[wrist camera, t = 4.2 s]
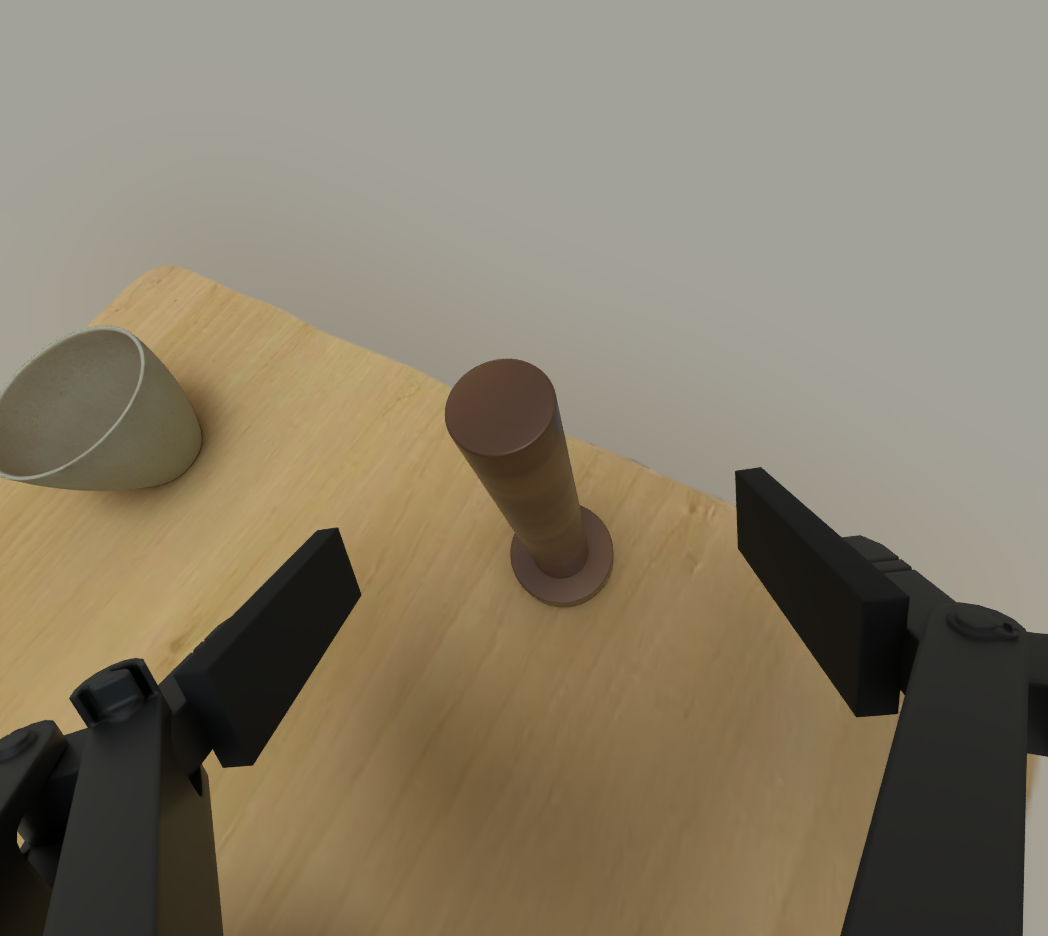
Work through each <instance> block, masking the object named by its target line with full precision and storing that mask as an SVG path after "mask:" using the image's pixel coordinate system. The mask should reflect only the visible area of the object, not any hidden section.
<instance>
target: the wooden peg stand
mask: <svg viewBox="0 0 1048 936" xmlns="http://www.w3.org/2000/svg"><path fill="white" fill-rule="evenodd" d="M445 422H446V426H447V429H448V432H449V434H450V436H451V437H452V439H453V440H454V442H455V443H456V445H457V446H458V448H459V449H460V451H461V452H462V454H463V455H464V457H465V458H466V460H467V461H468V463H469V464H470V466H471V467H472V469H473V470H474V472H475V473H476V475H477V476H478V478H479V479H480V481H481V482H482V484H483V485H484V487H485V488H486V490H487V491H488V493H489V494H490V496H491V497H492V499H493V500H494V502H495V503H496V505H497V506H498V508H499V509H500V511H501V512H502V514H503V515H504V517H505V518H506V520H507V521H508V523H509V524H510V526H511V527H512V529H513V530H514V532H515V535H514V537H513V540H512V544H511V563H512V567H513V571H514V573H515V575H516V577H517V579H518V581H519V582H520V583H521V585H522V586H523V587H524V588H525V589H526V590H527V591H528V592H529V593H530V594H531V595H532V596H533V597H535V598H536V599H537V600H539V601H541V602H543V603H546V604H548V605H552V606H558V607H570V606H575V605H578V604H582V603H584V602H586V601H588V600H590V599H591V598H593V597H594V596H595V595H596V594H597V593H599V592H600V590H601V589H602V588H603V587H604V585H605V584H606V582H607V580H608V578H609V576H610V574H611V570H612V566H613V545H612V540H611V537H610V534H609V532H608V530H607V528H606V526H605V525H604V523H603V522H602V521H601V520H600V518H599V517H598V516H597V515H595V514H594V513H593V512H591V511H590V510H588V509H587V508H584V507H582V506H580V505H579V501H578V496H577V492H576V487H575V482H574V478H573V473H572V468H571V464H570V459H569V454H568V450H567V445H566V440H565V436H564V431H563V426H562V422H561V417H560V412H559V408H558V403H557V398H556V394H555V390H554V387H553V385H552V383H551V381H550V380H549V378H548V377H547V376H546V375H545V373H543V372H542V371H541V370H540V369H539V368H537V367H536V366H534V365H532V364H530V363H528V362H525V361H521V360H517V359H498V360H493V361H489V362H486V363H483V364H481V365H479V366H477V367H475V368H473V369H472V370H470V371H469V372H467V373H466V374H465V375H464V376H463V377H462V378H461V379H460V380H459V381H458V382H457V383H456V384H455V386H454V387H453V389H452V390H451V392H450V394H449V397H448V399H447V403H446V407H445Z"/></svg>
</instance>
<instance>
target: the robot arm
mask: <svg viewBox="0 0 1048 936" xmlns="http://www.w3.org/2000/svg"><path fill="white" fill-rule="evenodd" d="M735 480H736V508H737V535H738V549H739V551H740V552H741V554H742V555H743V556H744V558H745V559H746V561H747V562H748V564H749V565H750V566H751V568H752V569H753V571H754V572H755V574H756V575H757V576H758V578H759V579H760V581H761V582H762V584H763V585H764V586H765V588H766V589H767V591H768V592H769V594H770V595H771V596H772V598H773V599H774V601H775V602H776V603H777V605H778V606H779V608H780V609H781V611H782V612H783V613H784V615H785V616H786V618H787V619H788V621H789V622H790V623H791V625H792V626H793V628H794V629H795V631H796V632H797V633H798V635H799V636H800V638H801V639H802V641H803V642H804V643H805V645H806V646H807V648H808V649H809V651H810V652H811V653H812V655H813V656H814V658H815V659H816V661H817V662H818V663H819V665H820V666H821V668H822V669H823V671H824V672H825V673H826V675H827V676H828V678H829V679H830V681H831V682H832V683H833V685H834V686H835V688H836V689H837V691H838V692H839V693H840V695H841V696H842V698H843V699H844V701H845V702H846V703H847V705H848V706H849V708H850V709H851V710H852V712H853V713H854V715H855V716H856V717H866V716H879V715H891V714H898V707H899V697H900V690H901V691H902V692H903V694H904V695H905V697H904V701H903V705H902V709H901V712H900V716H899V720H898V723H897V727H896V731H895V735H894V738H893V742H892V746H891V749H890V753H889V757H888V761H887V764H886V768H885V772H884V775H883V779H882V783H881V787H880V790H879V794H878V798H877V801H876V805H875V809H874V813H873V816H872V820H871V824H870V827H869V831H868V835H867V839H866V842H865V846H864V850H863V853H862V857H861V861H860V865H859V868H858V872H857V876H856V879H855V883H854V887H853V891H852V894H851V898H850V902H849V905H848V909H847V913H846V917H845V920H844V924H843V928H842V932H841V935H840V936H1023V895H1024V894H1023V893H1024V852H1025V809H1026V766H1027V753H1029V754H1035V755H1041V756H1047V757H1048V634H1040V633H1032V632H1026V630H1025V628H1023V627H1022V626H1021V625H1020V624H1018V622H1016V621H1015V620H1014V619H1012V618H1010V617H1008V616H1006V615H1004V614H1002V613H1000V612H998V611H996V610H993V609H989V608H986V607H983V606H980V605H974V604H967V603H960V602H958V603H957V602H955V601H954V600H953V599H952V598H950V597H949V596H948V595H946V594H945V593H944V592H943V591H941V590H940V589H939V588H937V587H936V586H935V585H934V584H932V583H931V582H930V581H928V580H927V579H926V578H925V577H923V576H922V575H921V574H920V573H918V572H917V571H916V570H912V568H911V566H909V565H908V564H907V563H905V562H904V561H903V560H901V559H900V560H899V558H898V556H897V555H895V554H894V553H893V552H891V551H890V550H889V549H888V548H886V547H885V546H884V545H882V544H880V543H877V542H875V541H873V540H870V539H868V538H866V537H863V536H860V535H859V536H850V537H843V538H842V537H841V536H839V535H838V534H837V533H836V532H835V531H834V530H833V529H831V528H830V527H829V526H828V525H827V524H826V523H824V522H823V521H822V520H821V519H820V518H819V517H818V516H816V515H815V514H814V513H813V512H812V511H811V510H810V509H808V508H807V507H806V506H805V505H804V504H803V503H801V502H800V501H799V500H798V499H797V498H796V497H794V496H793V495H792V494H791V493H790V492H789V491H787V490H786V489H785V488H784V487H783V486H782V485H781V484H780V483H778V482H777V481H776V480H775V479H774V478H773V477H772V476H770V475H769V474H768V473H767V472H766V471H765V470H764V469H762V468H761V467H759V468H752V469H745V470H738V471H735ZM360 597H361V592H360V589H359V586H358V583H357V580H356V578H355V575H354V572H353V569H352V566H351V563H350V560H349V558H348V555H347V552H346V549H345V546H344V543H343V540H342V538H341V535H340V532H339V529H338V527H337V528H330V529H323V530H317V531H316V532H315V533H314V534H313V535H312V536H311V537H310V538H309V539H308V540H307V541H306V542H305V543H304V544H303V545H302V546H301V547H300V548H299V549H298V550H297V551H296V552H295V553H294V554H293V555H292V556H291V557H290V558H289V559H288V560H287V561H286V562H285V563H284V564H283V565H282V566H281V567H280V568H279V569H278V570H277V571H276V572H275V573H274V574H273V575H272V576H271V577H270V578H269V579H268V580H267V581H266V582H265V583H264V584H263V585H262V586H261V587H260V588H259V589H258V590H257V591H256V592H255V593H254V594H253V595H252V596H251V597H250V599H249V600H248V601H247V602H246V603H245V604H244V605H243V606H242V607H241V608H240V609H239V610H238V611H237V612H236V613H235V614H234V615H233V616H231V617H230V618H229V619H227V620H226V621H224V622H223V623H221V624H220V625H218V626H217V627H216V628H215V629H214V630H213V631H212V632H211V633H210V634H209V635H208V636H207V637H206V638H205V641H204V642H201V643H200V644H199V645H198V646H197V647H196V648H195V649H194V650H193V651H194V652H193V653H190V654H189V655H188V656H187V657H186V658H185V659H184V660H183V661H182V662H181V663H180V664H179V665H178V666H177V667H176V668H175V669H174V670H173V671H172V672H171V673H170V674H169V675H168V676H167V677H166V678H165V679H164V680H163V681H162V682H161V683H160V684H159V685H157V683H156V681H155V680H154V678H153V676H152V674H151V672H150V671H149V669H148V667H147V665H146V663H145V662H144V660H143V659H138V658H134V659H128V660H124V661H121V662H119V663H116V664H113V665H111V666H109V667H107V668H105V669H103V670H101V671H99V672H97V673H96V674H94V675H93V676H91V677H90V678H88V679H87V680H85V681H84V682H83V683H82V684H81V685H80V686H79V687H77V688H76V689H75V690H74V692H73V693H72V695H71V696H70V698H69V699H70V701H71V702H72V704H73V705H74V707H75V708H76V710H77V711H78V713H79V714H80V716H81V718H82V719H83V721H84V722H85V724H86V725H87V727H88V728H86V729H83V730H79V731H76V732H73V733H70V734H67V735H63V734H62V732H61V731H60V729H59V728H58V726H57V725H56V723H55V722H54V721H53V720H44V721H40V722H37V723H33V724H31V725H28V726H26V727H24V728H20V729H17V730H15V731H14V732H12V733H10V735H6V736H5V737H3V738H2V739H0V936H223V925H222V915H221V905H220V894H219V884H218V874H217V863H216V853H215V842H214V832H213V822H212V811H211V801H210V791H209V780H208V774H207V773H206V771H205V769H204V767H203V765H202V763H203V761H204V760H205V759H206V757H207V756H208V755H209V753H210V752H211V751H212V749H213V750H214V752H215V754H216V756H217V758H218V760H219V761H220V763H221V765H222V767H223V768H227V767H240V766H252V765H254V763H255V761H256V760H257V758H258V757H259V755H260V754H261V752H262V750H263V749H264V747H265V746H266V744H267V743H268V741H269V739H270V738H271V736H272V735H273V733H274V732H275V730H276V728H277V727H278V725H279V724H280V722H281V721H282V719H283V717H284V716H285V714H286V713H287V711H288V710H289V708H290V706H291V705H292V703H293V702H294V700H295V699H296V697H297V695H298V694H299V692H300V691H301V689H302V688H303V686H304V684H305V683H306V681H307V680H308V678H309V677H310V675H311V674H312V672H313V670H314V669H315V667H316V666H317V664H318V663H319V661H320V659H321V658H322V656H323V655H324V653H325V652H326V650H327V648H328V647H329V645H330V644H331V642H332V641H333V639H334V637H335V636H336V634H337V633H338V631H339V630H340V628H341V626H342V625H343V623H344V622H345V620H346V619H347V617H348V615H349V614H350V612H351V611H352V609H353V608H354V606H355V604H356V603H357V601H358V600H359V598H360ZM17 832H18V833H19V834H20V835H21V837H22V838H23V839H24V840H25V841H24V843H23V845H22V847H21V848H19V846H18V844H17Z"/></svg>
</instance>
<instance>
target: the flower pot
mask: <svg viewBox="0 0 1048 936" xmlns="http://www.w3.org/2000/svg"><path fill="white" fill-rule="evenodd" d="M201 443H202V434H201V430H200V426H199V423H198V420H197V417H196V415H195V412H194V410H193V408H192V406H191V404H190V402H189V400H188V398H187V396H186V395H185V393H184V391H183V390H182V388H181V387H180V385H179V384H178V382H177V381H176V379H175V378H174V376H173V375H172V374H171V373H170V371H169V370H168V369H167V368H166V366H165V365H164V364H163V363H162V362H161V361H160V359H159V358H158V357H157V356H156V355H155V354H154V353H153V352H152V351H151V350H150V349H149V348H148V347H147V346H146V345H145V344H144V343H143V342H142V341H140V340H139V339H138V338H137V337H136V336H135V335H133V334H132V333H131V332H129V331H128V330H125V329H123V328H120V327H116V326H95V327H89V328H86V329H82V330H79V331H76V332H73V333H71V334H68V335H66V336H64V337H62V338H60V339H58V340H56V341H55V342H53V343H51V344H50V345H48V346H47V347H45V348H43V349H42V350H41V351H39V352H38V353H37V354H36V355H34V356H33V357H32V358H31V359H30V360H28V361H27V362H26V363H25V364H24V365H23V366H22V367H21V368H20V369H19V370H18V371H17V372H16V373H15V374H14V375H13V376H12V377H11V378H10V380H9V381H8V382H7V383H6V385H5V386H4V387H3V388H2V390H1V391H0V477H2V478H5V479H9V480H14V481H18V482H23V483H28V484H33V485H38V486H45V487H52V488H60V489H70V490H85V491H114V490H130V489H139V488H146V487H152V486H157V485H162V484H165V483H168V482H170V481H172V480H174V479H176V478H177V477H179V476H180V475H182V474H183V473H184V472H185V471H186V470H187V469H188V468H189V467H190V466H191V465H192V463H193V462H194V460H195V459H196V457H197V455H198V453H199V451H200V448H201Z"/></svg>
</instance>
